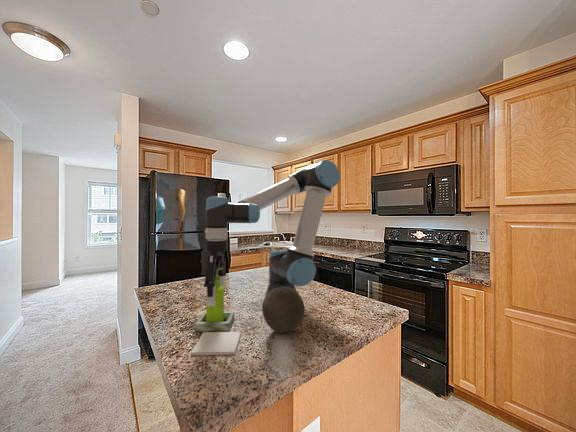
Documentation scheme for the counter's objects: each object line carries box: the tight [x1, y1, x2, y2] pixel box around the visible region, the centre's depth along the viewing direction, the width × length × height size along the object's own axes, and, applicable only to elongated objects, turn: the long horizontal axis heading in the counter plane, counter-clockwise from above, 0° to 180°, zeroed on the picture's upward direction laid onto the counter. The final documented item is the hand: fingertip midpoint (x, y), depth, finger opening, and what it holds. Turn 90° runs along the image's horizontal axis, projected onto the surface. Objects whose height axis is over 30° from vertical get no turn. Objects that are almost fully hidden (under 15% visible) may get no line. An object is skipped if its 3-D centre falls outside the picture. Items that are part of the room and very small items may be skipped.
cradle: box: [194, 311, 235, 332], centre depth 90 cm, size 11×10×2 cm
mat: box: [190, 331, 242, 356], centre depth 76 cm, size 12×12×1 cm
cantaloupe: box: [261, 286, 306, 334], centre depth 84 cm, size 14×14×15 cm
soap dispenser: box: [205, 268, 225, 322], centre depth 90 cm, size 6×7×20 cm
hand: (215, 299), depth 90 cm, fingers open, 13 cm apart
